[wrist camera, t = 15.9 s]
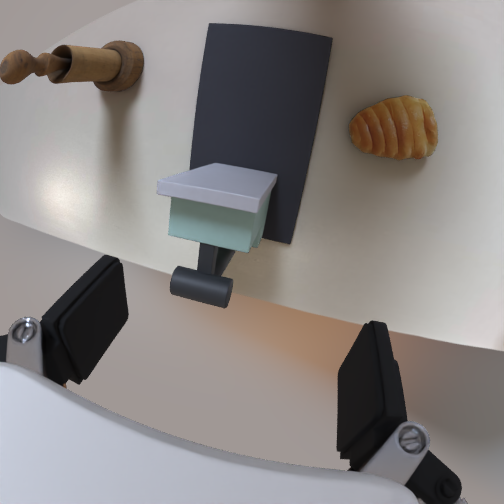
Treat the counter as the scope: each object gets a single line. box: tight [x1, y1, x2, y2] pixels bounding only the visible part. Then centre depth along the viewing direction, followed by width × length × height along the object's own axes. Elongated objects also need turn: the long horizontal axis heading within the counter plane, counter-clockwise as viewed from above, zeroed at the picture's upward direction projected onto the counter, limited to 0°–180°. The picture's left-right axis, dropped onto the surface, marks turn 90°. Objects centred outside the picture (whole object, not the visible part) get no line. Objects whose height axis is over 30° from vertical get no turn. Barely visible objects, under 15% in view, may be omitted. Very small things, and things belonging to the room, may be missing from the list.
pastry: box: [349, 95, 438, 160], centre depth 25 cm, size 9×7×4 cm
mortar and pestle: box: [0, 41, 144, 92], centre depth 21 cm, size 7×6×18 cm
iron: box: [157, 163, 277, 308], centre depth 27 cm, size 14×7×10 cm
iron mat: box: [190, 23, 333, 244], centre depth 30 cm, size 24×13×1 cm, turn 172°
